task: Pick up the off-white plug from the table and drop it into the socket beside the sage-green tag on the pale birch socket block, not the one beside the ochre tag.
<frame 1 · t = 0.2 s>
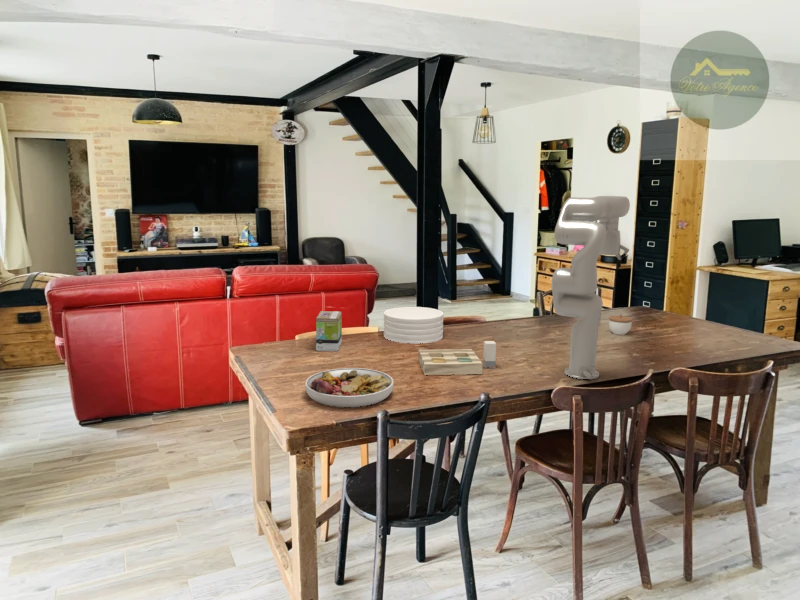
hand: (605, 268, 249), 37 cm above the table, tool pointing down, fingers open, 9 cm apart
bowl: (349, 395, 205), on the table
plate stack: (413, 336, 284), on the table
lidded jar: (619, 333, 292), on the table
socket block: (449, 367, 236), on the table
tea box: (329, 347, 264), on the table
plug: (489, 366, 237), on the table
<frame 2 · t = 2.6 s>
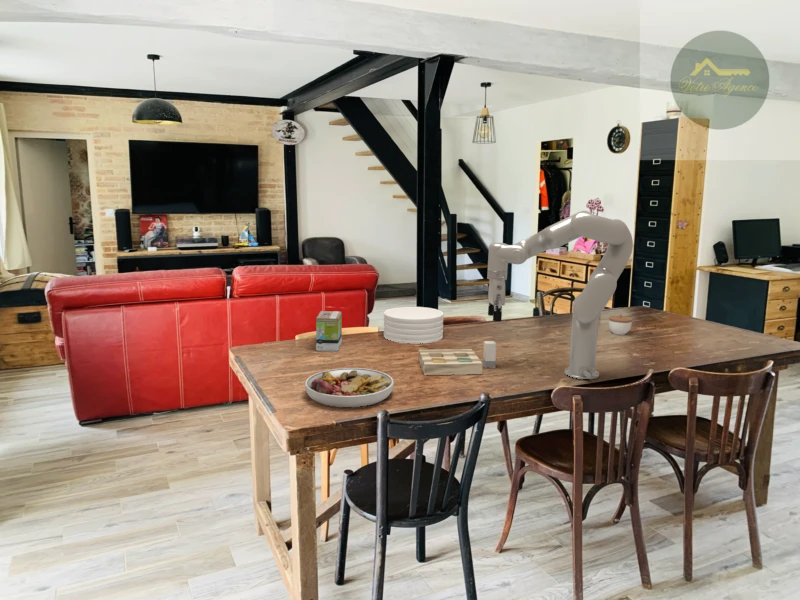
hand: (494, 318, 234), 19 cm above the table, tool pointing down, fingers open, 9 cm apart
nothing on the table moved.
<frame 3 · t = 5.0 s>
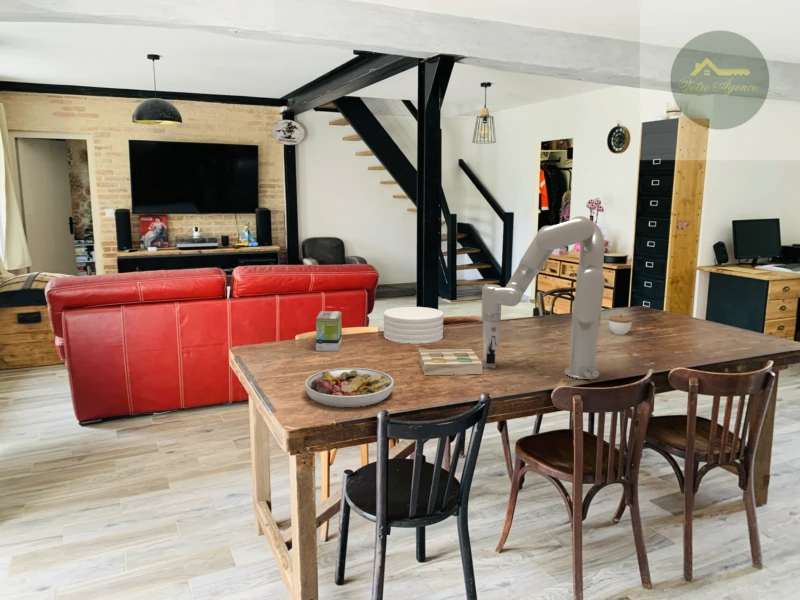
hand: (489, 361, 237), 2 cm above the table, tool pointing down, fingers closed on plug, 4 cm apart
plug: (489, 366, 237), on the table, touching gripper
everything else where it was.
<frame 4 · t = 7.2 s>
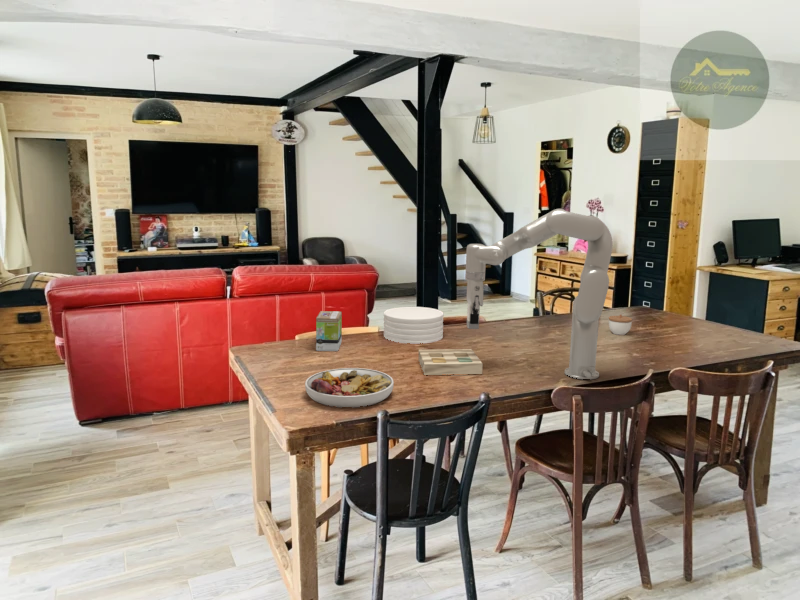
hand: (472, 321, 234), 18 cm above the table, tool pointing down, fingers closed on plug, 4 cm apart
plug: (472, 327, 235), point 16 cm above the table, touching gripper
everything else where it was.
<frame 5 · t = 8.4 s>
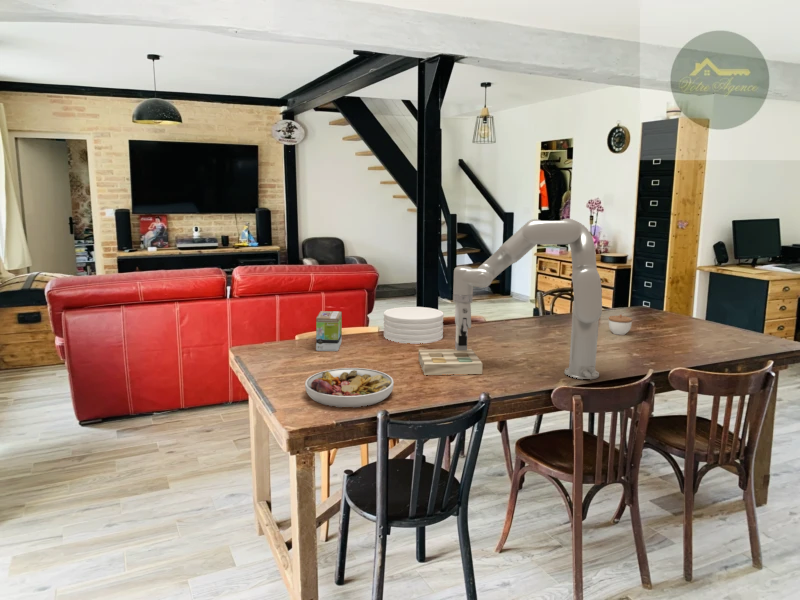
hand: (461, 343, 237), 9 cm above the table, tool pointing down, fingers closed on plug, 4 cm apart
plug: (461, 349, 237), point 7 cm above the table, touching gripper
everything else where it was.
when the fingers open (5 cm above the table, at t = 9.5 s): plug drops 2 cm, resting on socket block.
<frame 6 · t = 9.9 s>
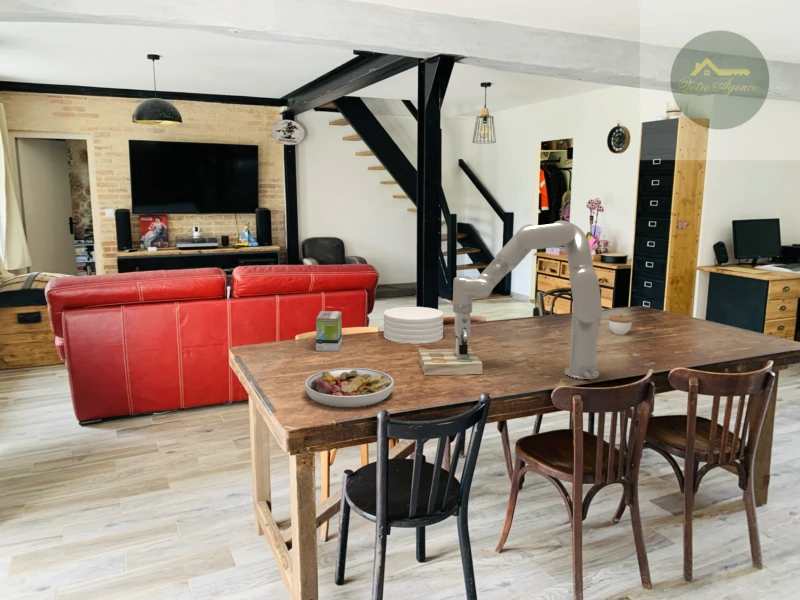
hand: (461, 351, 237), 6 cm above the table, tool pointing down, fingers open, 8 cm apart
plug: (460, 363, 238), point 1 cm above the table, touching socket block
everything else where it was.
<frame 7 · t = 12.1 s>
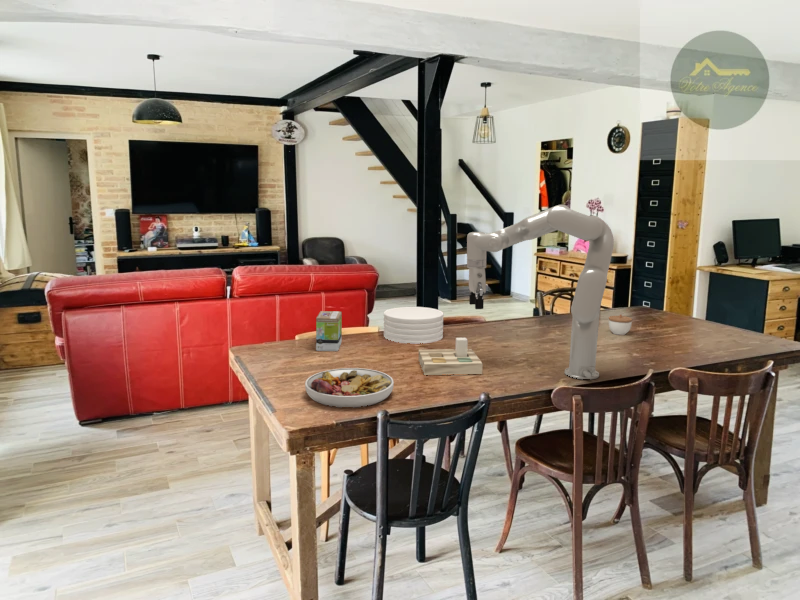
hand: (476, 306, 238), 23 cm above the table, tool pointing down, fingers open, 9 cm apart
nothing on the table moved.
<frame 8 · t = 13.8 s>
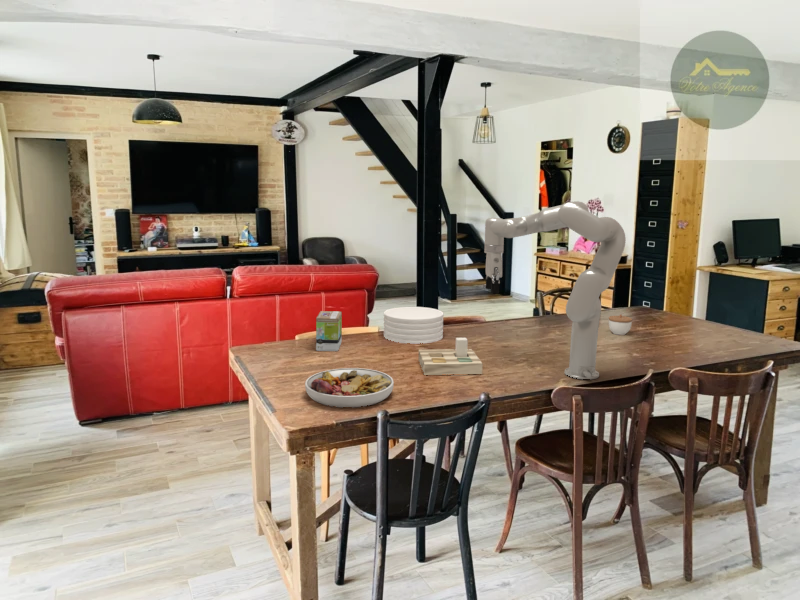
hand: (492, 291, 244), 28 cm above the table, tool pointing down, fingers open, 9 cm apart
nothing on the table moved.
at the end: plug 0.0 cm from the target spot on the socket block, point 1.0 cm above the socket block's base; the gripper is holding nothing; plug tilted 0° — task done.
